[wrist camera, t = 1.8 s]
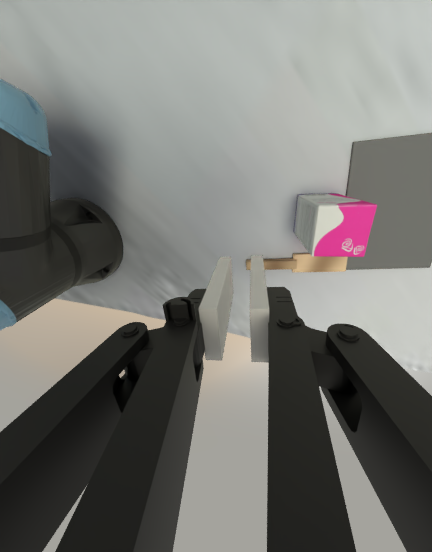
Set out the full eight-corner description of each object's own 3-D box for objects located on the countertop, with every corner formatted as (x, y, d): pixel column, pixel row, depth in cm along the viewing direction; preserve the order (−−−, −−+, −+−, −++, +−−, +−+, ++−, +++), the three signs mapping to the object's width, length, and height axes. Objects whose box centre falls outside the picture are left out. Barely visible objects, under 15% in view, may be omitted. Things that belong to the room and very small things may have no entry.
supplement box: (293, 233, 36) (309, 257, 25) (297, 193, 33) (317, 201, 23) (332, 233, 35) (365, 258, 24) (339, 192, 32) (380, 200, 22)
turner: (247, 271, 39) (246, 274, 38) (246, 255, 38) (246, 257, 37) (344, 269, 36) (346, 272, 35) (346, 252, 35) (349, 254, 34)
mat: (336, 269, 37) (337, 269, 36) (352, 142, 30) (354, 142, 29) (428, 266, 34) (429, 267, 34) (469, 128, 27) (471, 128, 27)
